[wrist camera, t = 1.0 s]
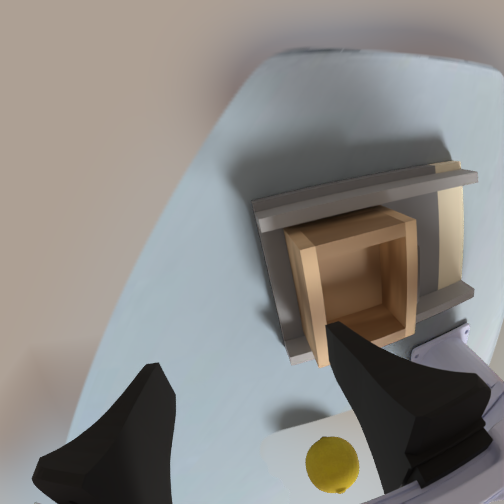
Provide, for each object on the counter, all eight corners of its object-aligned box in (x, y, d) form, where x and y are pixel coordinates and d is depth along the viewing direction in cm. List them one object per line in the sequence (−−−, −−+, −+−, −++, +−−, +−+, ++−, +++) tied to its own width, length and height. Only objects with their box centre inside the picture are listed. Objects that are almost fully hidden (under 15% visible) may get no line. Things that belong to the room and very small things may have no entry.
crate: (392, 302, 22) (421, 330, 17) (303, 330, 21) (319, 368, 17) (387, 203, 19) (424, 217, 15) (283, 228, 19) (300, 250, 15)
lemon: (302, 454, 29) (316, 508, 22) (296, 431, 27) (312, 492, 20) (346, 441, 29) (366, 492, 22) (345, 417, 27) (370, 473, 20)
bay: (453, 288, 23) (472, 302, 21) (285, 347, 23) (292, 371, 20) (452, 160, 19) (476, 164, 17) (251, 200, 19) (256, 209, 16)
